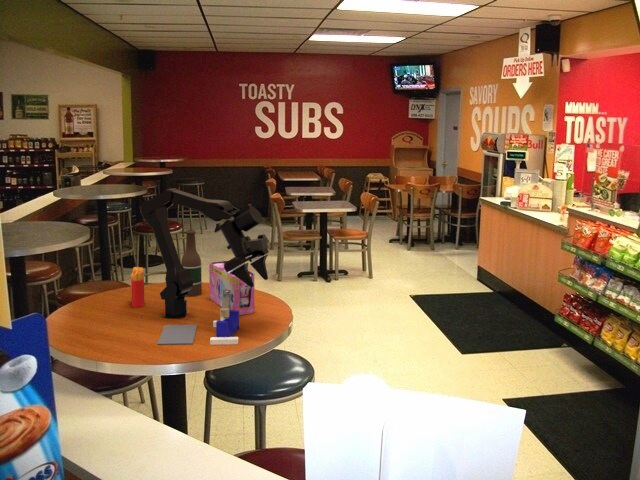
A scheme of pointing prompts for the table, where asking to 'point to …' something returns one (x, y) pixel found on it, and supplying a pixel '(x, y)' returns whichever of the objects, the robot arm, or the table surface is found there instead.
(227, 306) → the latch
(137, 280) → the french fries
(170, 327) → the mat
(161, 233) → the robot arm
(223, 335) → the cable clip
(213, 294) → the gum box
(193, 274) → the beer bottle
